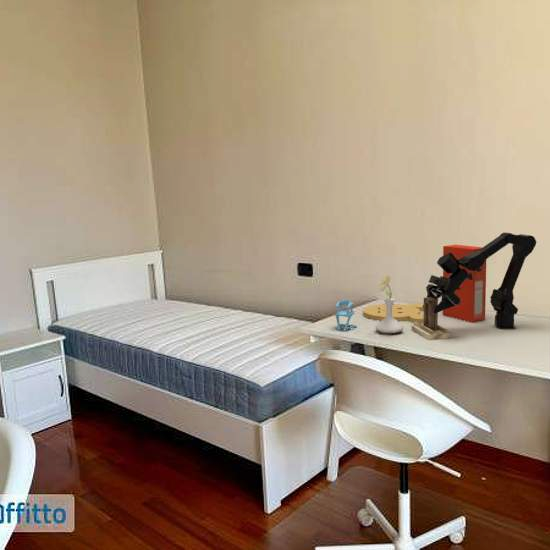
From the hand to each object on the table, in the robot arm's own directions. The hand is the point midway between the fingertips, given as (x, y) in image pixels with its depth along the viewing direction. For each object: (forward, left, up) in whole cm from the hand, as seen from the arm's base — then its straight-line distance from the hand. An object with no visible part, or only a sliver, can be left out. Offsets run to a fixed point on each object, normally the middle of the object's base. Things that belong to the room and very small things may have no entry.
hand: (428, 310), depth 211 cm
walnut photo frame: (-1, 0, -8) cm, 8 cm away
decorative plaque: (+9, -33, -11) cm, 36 cm away
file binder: (-20, -26, -10) cm, 34 cm away
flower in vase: (+15, -3, -10) cm, 19 cm away
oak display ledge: (-1, 0, -10) cm, 10 cm away
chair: (+33, -9, -10) cm, 36 cm away
